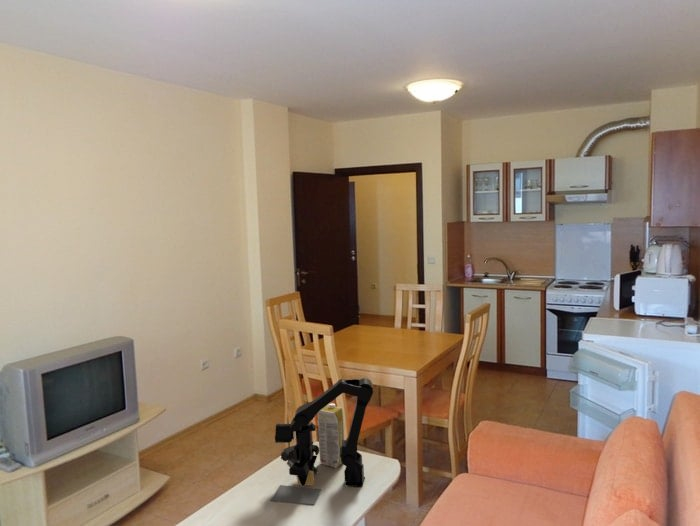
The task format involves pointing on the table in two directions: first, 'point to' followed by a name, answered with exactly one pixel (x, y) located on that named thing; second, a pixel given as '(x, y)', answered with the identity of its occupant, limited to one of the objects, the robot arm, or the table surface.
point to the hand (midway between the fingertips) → (305, 481)
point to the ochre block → (308, 479)
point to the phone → (298, 462)
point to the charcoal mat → (296, 495)
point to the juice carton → (330, 434)
